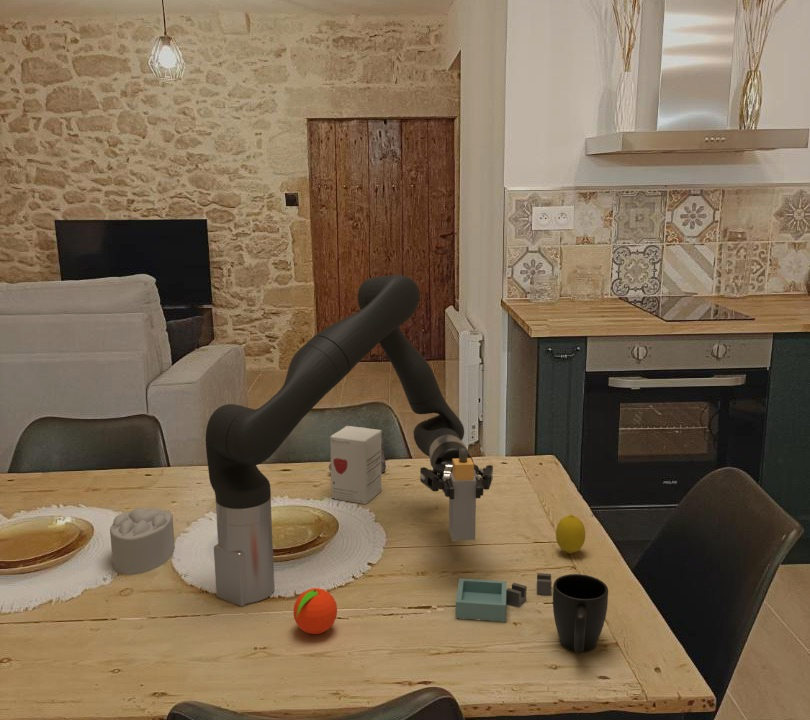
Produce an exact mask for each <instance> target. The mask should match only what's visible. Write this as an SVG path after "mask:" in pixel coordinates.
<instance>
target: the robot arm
mask: <svg viewBox="0 0 810 720" xmlns="http://www.w3.org/2000/svg"><path fill="white" fill-rule="evenodd" d="M420 295H421V293H420V289H419V286H418V284H417V282H416V281H414V280H413V279H412V278H410V277H409V276H406V275H401V274H391V275H383V276H382V275H381V276H379V275H378V276H374V277H370V278H367V279H365V280H364V281H363V282H362V283H361V284H360V286H359V288H358V291H357V304H358V308H359V311H357V312H355V313H353V314H351V315H349V316H347V317H345V318H343V319H340V320H339V321H337V322H335V323H333V324H331V325H329V326H327V327H326V328H324V329H322V330H321V331H319V332H317V333H315V335H314V336H313V337H312V338H310V339H309V340H308V341H307V342H306V343H305V344H304V345H303V346H302V347H300V348H299V349H298V350H297V351H296V352H295V354H294V355H293V356H292V358H291V360H290V363H289V366H288V369H287V372H286V376H285V380H284V383H283V385H282V386H281V388H280V389H279V390H278V391H277V393H276V394H274V395H273V396H272V397H271V398H270V399H269V400H268V401H267V402H265V403H264V404H262V405H261V406H260V407H258V408H256V409H254V408H252V407H251V408H250V407H247V406H243V405H239V404H234V403H228V404H227V403H226V404H224V405H221V406H219V407H218V408H217V409H215V410H214V411H213V412H212V414H211V416H210V417H209V419H208V421H207V424H206V429H205V430H206V431H205V449H206V450H205V453H206V461H207V469H208V477H209V482H210V486H211V488H212V490H213V492H214V496H215V497H214V498H215V510H216V511H215V513H216V528H217V529H216V530H217V531H216V532H217V544H215V545H214V547H213V554H214V555H213V556H214V557H213V559H214V575H215V578H214V579H215V591H216V592H215V593H216V597H217V598H218V599H220V600H224V601H227V602H229V603H232V604H235V605H237V606H239V607H244V606H246V605H248V604H253V603H257V602H259V601H262V600H265V599H267V598H269V597H270V596H271V595H272V594H273V593H272V592H274V591H275V569H274V546H273V543H274V542H273V523H272V522H273V520H272V519H273V518H272V517H273V516H272V499H271V498H272V497H271V496H272V494H271V492H272V491H271V489H272V488H271V483H270V481H269V479H268V478H267V477H266V476H265V475H264V474H263V472H262V471H261V470H260V469H259V468H258V466H257V465H261V464H262V463H264V462H266V461H267V460H269V458H270V457H272V456H273V455H274V454H275V452H276V451H277V450H278V449H279V448H280V446H282V444H283V443H284V441H285V440H286V439H287V437H289V435H290V434H292V432H293V431H294V429H295V428H297V426H298V425H299V423H300V422H301V421H302V420H303V418H304V417H305V416H307V414H308V413H309V412H310V411H312V409H313V408H314V407H315V406H316V405H317V404H319V402H320V401H321V400H322V399H323V398H324V397H325V396H327V394H328V393H329V392H330V391H331V390H332V389H334V388H335V387H336V386H337V385H338V384H339V383H340V382H341V381H342V380H343V379H344V378H345V377H347V375H348V374H349V373H351V371H352V370H353V369H354V368H355V366H357V365H358V364H359V362H361V361H362V360H363V359H364V358H365V357H366V356H367V355H368V354H369V353H370V352H371V351H373V349H374V348H376V346H377V345H378V344H380V347H381V348H382V350H383V352H384V353H385V355H386V357H387V359H388V360H389V362H390V363H391V365H392V367H393V369H394V371H395V373H396V376H397V377H398V379H399V382H400V383H401V386H402V389H403V391H404V394H405V396H406V399H407V401H408V404H409V407H410V408H411V411H412V412H413V413H414V414H417V415H428V414H437V415H435V416H433V417H430V418H428V419H425V420H423V421H421V422H418V424H416V426H415V428H414V430H413V440H414V442H415V445H416V446H417V448H418V449H419V450H420V451H421V452H422V453H423V454H424V455H425V456H427V457H429V462H430V463H429V464H430V466H431V467H432V469H429V468H427V467H425V466H424V467H420V468H419V469H420V471H419V472H420V478H419V479H420V483H422V485H424V486H426V487H427V488H428V489H429V490H431V492H438V491H439V490H441V491H442V492H443V494H444V496H445V497H446V498H449V499H454V486H453V485H452V482H451V480H450V473H452V459H455V458H459V449H460V448H466V449H467V458H471V460H472V462H473V464H474V477H475V479H476V499H481V496H484V490H487V491H488V490H490V488H491V485H492V482H493V479H494V477H493V476H494V466H493V465H491V464H489V465H486V466H484V467H483V468H479V466H478V465H476V464H475V463H474V460H473V458H472V455H471V454H470V451H469V450H468V448H467V446H466V444H465V443H464V442H463V439H464V437H465V428H464V425H463V423H462V421H461V420H460V418H459V417H458V416H457V414H456V413H455V412H454V410H452V408H451V407H450V405H449V404H448V403H447V401H446V400H445V398H444V396H443V393H442V391H441V388H440V386H439V384H438V381H437V378H436V376H435V373H434V371H433V369H432V367H431V365H430V363H428V362H427V361H428V360H426V359H425V358H424V356H423V355H422V354H421V353H420V352H419V351H418V349H416V348H415V346H414V345H413V344H412V343H411V342H410V340H409V339H408V338H407V337H406V335H405V334H404V332H403V330H402V329H401V326H402V325H403V324H405V323H406V322H407V321H408V320H409V319H410V318H412V316H414V314H415V312H416V311H417V308H418V306H419V304H420V303H419V302H420V298H421V297H420ZM449 499H448V500H449Z"/></svg>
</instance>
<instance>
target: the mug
mask: <svg viewBox="0 0 810 720" xmlns="http://www.w3.org/2000/svg"><path fill="white" fill-rule="evenodd" d="M552 586H553V587H552V612H553V617H554V623H555V626H556V631H557V634H558V639H559V642H560V645H561V646H562V647H563V648H564V649H566V650H568V651H571V652H575V653H577V654H582V653H589V652H590V651H593V650H595V648H597V647H596V646H597V643H598V641H599V639H600V636H601V634H602V631H603V628H604V626H605V625H604V624H605V620H606V617H607V611H608V601H609V589H608V588H609V587H608V586H607V585H606V583H605V582H603V581H602V580H600V579H599V578H596V577H594V576H590V575H587V574H582V573H581V574H578V573H571V574H565V575H561V576H559V577H558V578H556V579H555V580H554V582H553V585H552Z"/></svg>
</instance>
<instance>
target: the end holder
mask: <svg viewBox="0 0 810 720" xmlns="http://www.w3.org/2000/svg"><path fill="white" fill-rule="evenodd" d="M507 586H508V585H507V580H493V579H490V580H489V579H479V578H478V579H477V578H476V579H475V578H463V577H462V578H461V577H459V579H458V585H457V593H456V600H455V619H456V618H459V619H458V620H467V619H480V620H479V621H481V620H490V621H489V622H495V621H500V622H499V623H506V622H507V621H506V620H507V618H506V617H507V604H506V590H507ZM462 618H464V619H462Z"/></svg>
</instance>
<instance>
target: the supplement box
mask: <svg viewBox="0 0 810 720" xmlns="http://www.w3.org/2000/svg"><path fill="white" fill-rule="evenodd" d="M382 431H383V430H382V429H376V428H375V429H374V428H368V427H363V426H362V427H360V426H353V425H352V426H351V425H346V426H344V427H343V428H342V429H340V430H338V431H336V432H335V433H333V434H332V435H330V439H329V440H330V456H331V460H330V463H331V471H330V487H331V488H330V491H331V492H330V495H331V497H330V498H331V499H332V498H335V499H334V500H337V499H339V501H344V502H350V503H357V504H362V505H367V504H369V502H371V500H373V499H374V498H375V497H377V496H378V494H380V493H381V492H382V473H381V437H382V433H383V432H382Z"/></svg>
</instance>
